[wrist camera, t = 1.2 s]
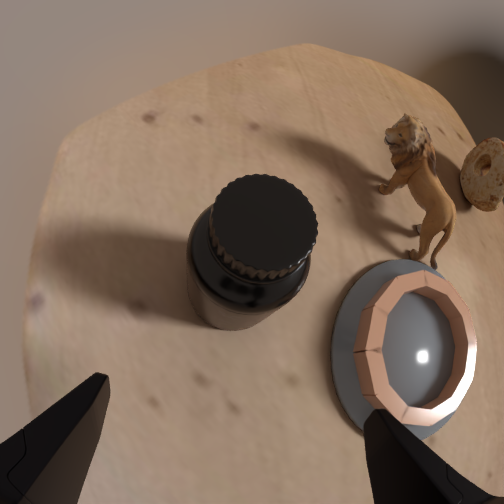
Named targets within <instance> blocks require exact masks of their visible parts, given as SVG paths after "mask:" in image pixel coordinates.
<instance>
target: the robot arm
mask: <svg viewBox="0 0 504 504" xmlns="http://www.w3.org/2000/svg"><path fill="white" fill-rule="evenodd" d="M109 399H110V383H109V377H108V375H106V374H102V373H99V372H96V373H94V374H93V375H91V376H90V377H89V378H88V379H86V380H85V381H84V382H82V383H81V384H80V385H78V386H77V387H76V388H74V389H73V390H72V391H70V392H69V393H68V394H67V395H65V396H64V397H63V398H61V399H60V400H59V401H57V402H56V403H55V404H53V405H52V406H51V407H50V408H48V409H47V410H46V411H44V412H43V413H42V414H40V415H39V416H38V417H36V418H35V419H34V420H33V421H31V422H30V423H29V424H27V425H26V426H25V427H24V428H23V429H21V430H20V431H18V432H17V433H15V434H14V435H13V436H11V437H10V438H8V439H7V440H5V441H4V442H2V443H1V444H0V504H77V502H78V499H79V496H80V493H81V490H82V487H83V484H84V481H85V478H86V475H87V472H88V469H89V467H90V464H91V461H92V458H93V455H94V452H95V450H96V447H97V444H98V442H99V439H100V435H101V431H102V427H103V423H104V419H105V415H106V411H107V407H108V403H109ZM363 431H364V441H365V451H366V461H367V467H368V472H369V477H370V482H371V488H372V493H373V498H374V504H504V497H497V496H493V495H490V494H488V493H486V492H485V491H483V490H482V489H480V488H479V487H478V486H476V485H475V484H473V483H472V482H470V481H469V480H467V479H466V478H465V477H463V476H462V475H461V474H459V473H458V472H457V471H456V470H454V469H453V468H452V467H451V466H450V465H449V464H447V463H446V462H445V461H444V460H443V459H442V458H440V457H439V456H438V455H437V454H436V453H435V452H434V451H432V450H431V449H430V448H429V447H428V446H427V445H426V444H424V443H423V442H422V441H421V440H420V439H419V438H418V437H417V436H415V435H414V434H413V433H412V432H411V431H410V430H409V429H407V428H406V427H405V426H404V425H403V424H402V423H401V422H400V421H399V420H397V419H396V418H395V417H394V416H393V415H392V414H391V413H390V412H389V411H387V410H386V409H384V408H378V409H374V410H373V411H372V412H371V414H370V415H369V417H368V418H367V419H366V420H365V422H364V425H363Z"/></svg>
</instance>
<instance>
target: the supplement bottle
mask: <svg viewBox="0 0 504 504" xmlns="http://www.w3.org/2000/svg"><path fill="white" fill-rule="evenodd" d="M317 227H318V222H317V220H316V214H315V212H314V211H313V206H312V205H311V204H310V203H309V201H308V198H307V197H306V196H304V195H303V194H302V192H301V190H299V189H297V188H296V187H295V186H294V185H293V184H291V183H288V182H287V181H286V180H284V179H279V178H278V177H276V176H269V175H267V174H263V175H259V174H253V175H245V176H244V177H242V178H237V179H236V180H235V181H233V182H230V183H229V184H228V185H227V187H225V188H223V189H222V190H221V193H220V194H219V195H218V196H217V197H216V199H215V203H213V204H212V205H210V206H209V207H208V208H207V209H205V210H204V211H203V212H202V213H201V214H200V216H199V217H198V218H197V220H196V221H195V223H194V225H193V227H192V229H191V231H190V234H189V238H188V243H187V286H188V294H189V298H190V301H191V304H192V306H193V308H194V309H195V311H196V312H197V314H198V315H199V316H200V317H201V318H202V319H203V320H204V321H206V322H207V323H209V324H210V325H212V326H214V327H216V328H219V329H223V330H229V331H237V330H243V329H247V328H250V327H252V326H254V325H256V324H257V323H259V322H261V321H262V320H264V319H265V318H267V317H268V316H270V315H271V314H272V313H274V312H275V311H277V310H278V309H280V308H281V307H283V306H284V305H285V304H287V303H288V302H289V301H290V300H291V299H292V298H294V297H295V296H296V294H297V293H298V292H299V291H300V289H301V288H302V287H303V285H304V283H305V281H306V279H307V276H308V273H309V269H310V262H311V252H312V248H313V246H314V245H315V244H316V237H317V235H318V230H317Z"/></svg>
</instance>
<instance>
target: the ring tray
mask: <svg viewBox="0 0 504 504" xmlns="http://www.w3.org/2000/svg"><path fill="white" fill-rule="evenodd" d="M476 342H477V340H476V335H475V331H474V327H473V322H472V318H471V314H470V311H469V309H468V306H467V305H466V303H465V302H464V301H463V299H462V298H461V296H460V295H459V294H458V292H457V291H456V289H455V288H454V287H453V285H452V284H451V283H450V282H449V281H447V280H446V279H445V278H444V277H443V276H442V275H441V274H439V273H438V272H437V271H435V270H434V269H432V268H431V267H429V266H427V265H425V264H423V263H420V262H417V261H413V260H405V259H399V260H391V261H388V262H384V263H382V264H380V265H378V266H376V267H374V268H372V269H371V270H369V271H368V272H367V273H365V274H364V275H363V276H362V277H360V278H359V279H358V280H357V281H356V282H355V284H354V285H353V286H352V287H351V289H350V290H349V291H348V293H347V295H346V297H345V298H344V300H343V302H342V304H341V306H340V309H339V311H338V313H337V317H336V320H335V324H334V328H333V333H332V339H331V370H332V376H333V382H334V385H335V389H336V392H337V395H338V397H339V400H340V402H341V404H342V407H343V408H344V410H345V411H346V413H347V415H348V416H349V418H350V419H351V420H352V421H353V422H354V424H355V425H356V426H357V427H358V428H359V429H361V430H362V431H363V425H364V422H365V420H366V419H367V418H368V417H369V415H370V414H371V412H372V411H373V410H374V409H378V408H384V409H386V410H387V411H389V412H390V413H391V414H392V415H393V416H394V417H395V418H396V419H397V420H399V421H400V422H401V423H402V424H403V425H404V426H405V427H406V428H407V429H409V430H410V431H411V432H412V433H413V434H414V435H415V436H417V437H418V438H419V439H420V440H423V439H425V438H427V437H429V436H430V435H432V434H434V433H435V432H436V431H438V430H439V429H440V428H441V427H442V426H443V425H444V424H445V423H447V422H448V420H449V419H450V418H451V417H452V415H453V414H454V413H455V411H456V410H457V408H458V406H459V405H460V403H461V401H462V399H463V397H464V395H465V393H466V391H467V389H468V387H469V385H470V383H471V381H472V378H473V375H474V367H475V359H476V349H477V343H476ZM363 432H364V431H363Z"/></svg>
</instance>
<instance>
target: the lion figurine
mask: <svg viewBox="0 0 504 504" xmlns="http://www.w3.org/2000/svg"><path fill="white" fill-rule="evenodd" d="M385 135H386V137H385V139H384V142H385V144H387V145H389V149H390V151H391V153H392V158H391V162H392V164H393V165H394V168H395V169H396V172H395V173H394V175H393V177H392V178H391V180H390V183H389V185H388V186H387V185H384V184H381V185H380V187H379V191H380V192H381V193H382V194H384V195H389V194H392V193H393V192H394V190H395V189H396V188H402V187H404V186H405V185H406V184H408V187H409V189H410V192H411V194H412V196H413V198H414V199H415V201H416V202H417V204H418V205H419V206H420V207H421V208H423V209H424V210H425V211H426V215H425V218H424V220H423V222H422V224H419V225H418V226H417V230H418V232H419V233H420V247H419V252H418V251H417V250H415V249H412V250H411V252H410V254H409V256H410V258H411V260H413V261H420V260H421V259H422V258H424V256H425V255H426V254H427V253H428V252H429V245H430V243H431V241H432V239H433V237H434V236H435V235H436V234H437V233H439V232H440V231H442V230H443V231H444V232H445V234H444V236H443V237H442V239H441V240H440V241H439V243H438V245H437V246H436V248H435V249H434V251H433V253H432V255H431V260H430V263H431V267H432V268H433V269H434V270H436V269H437V263H436V260H435V257H436V255H437V253H438V252H439V251H440V250H441V248H442V247H443V246H444V245H445V243H446V242H447V241H448V239H449V238H450V236H451V234H452V232H453V229H454V224H455V221H456V209H455V204H454V203H453V201H452V200H451V198H450V197H449V196H448V194H447V193H446V191H445V190H444V188H443V186H442V185H441V183H440V181H439V179H438V177H437V175H436V171H435V166H436V157H435V152H434V147H433V145H432V139H431V138H430V134H429V133H428V131H427V128H426V127H425V126H424V125H423V123H422V122H421V121H420V120H419V119H418V118H416V117H412V116H411V115H409V116H408V115H407V114H404V116H403V117H402V118H401V119H400V120H399V121H398V122H397V123H396V124H395V125H393V126H392V128H388V129H386V131H385Z"/></svg>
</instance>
